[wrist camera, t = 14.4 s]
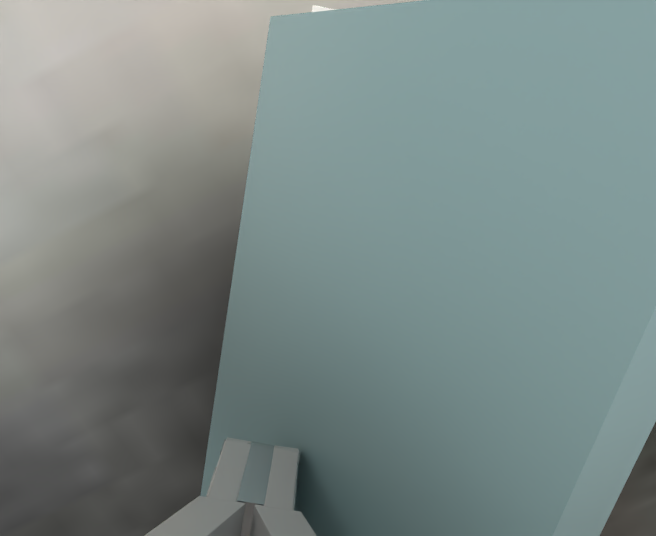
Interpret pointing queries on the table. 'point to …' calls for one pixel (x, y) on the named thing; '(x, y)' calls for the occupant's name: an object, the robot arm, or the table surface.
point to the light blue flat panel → (449, 265)
